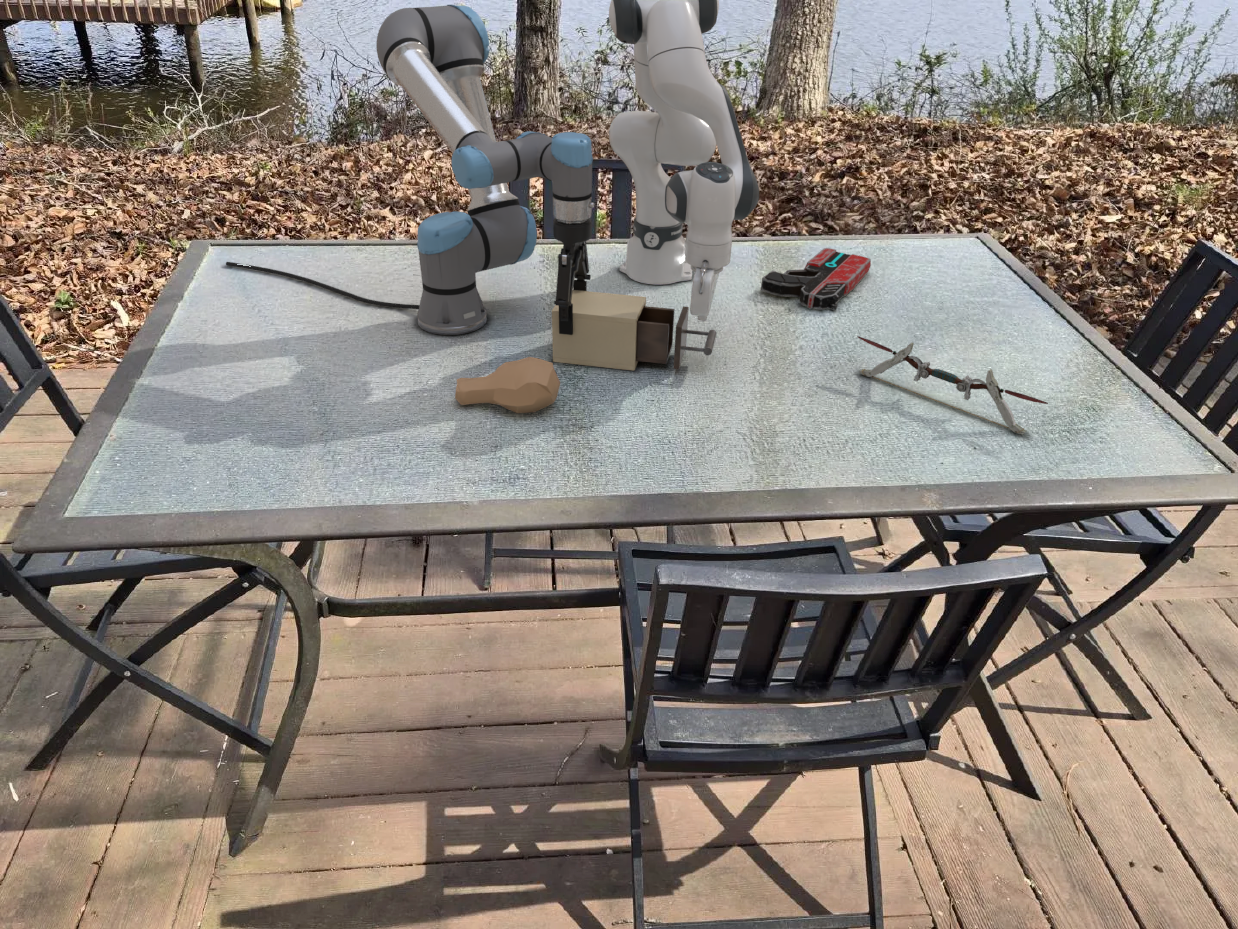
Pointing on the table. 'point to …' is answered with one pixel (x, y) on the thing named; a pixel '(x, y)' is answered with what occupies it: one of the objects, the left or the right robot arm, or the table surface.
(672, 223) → the right robot arm
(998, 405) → the bow
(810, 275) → the gun
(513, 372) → the squash
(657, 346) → the drawer
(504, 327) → the table surface
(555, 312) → the tan box
